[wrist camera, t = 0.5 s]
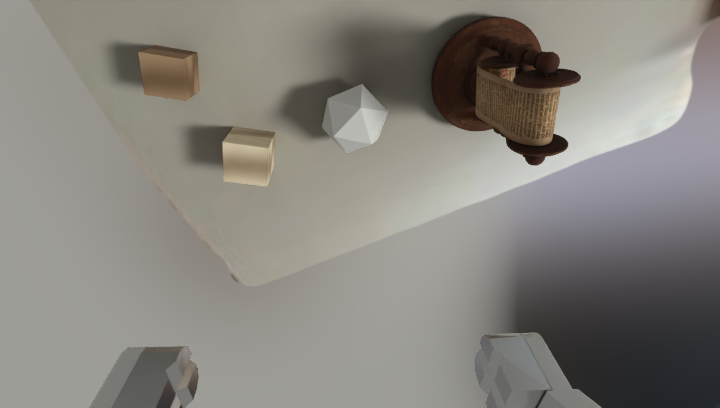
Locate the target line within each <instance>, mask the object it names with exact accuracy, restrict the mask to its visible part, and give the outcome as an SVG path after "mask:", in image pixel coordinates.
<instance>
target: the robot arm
mask: <svg viewBox="0 0 720 408" xmlns="http://www.w3.org/2000/svg"><path fill="white" fill-rule="evenodd" d="M480 344H481V347H482V349H481V350H479V351H478V352H477V354H476V358H475V371H476V376H477V379H478V382H479V385H480V387H481V388H482V389H483V390H484V391H485V392H486V393H487V394H488V397H487V401H486V405H487V408H601V407H600V406H599V405H597V404H596V403H595V402H594V401H592V400H591V399H590V398H588V397H587V396H586V395H585V394H583V393H582V392H581V391H579V390H578V389H572V388H571V386H570V384H569V383H568V381H567V379H566V377H565V376H564V374H563V373H562V371H561V369H560V367H559V366H558V364H557V362H556V360H555V359H554V357H553V356H552V354H551V352H550V350H549V349H548V347H547V345H546V343H545V342H544V340H543V338H542V337H541V336H540V335H539V334H538V333H521V334H518V333H510V334H491V335H484V336H483V337H482V338H481V341H480ZM190 357H191V351H190V349H189V347H188V346H178V347H133V348H127V349H126V350H125V351H124V352H122V353H121V355H120V356H119V358H118V360H117V361H116V363H115V365H114V367H113V368H112V370H111V372H110V373H109V375H108V377H107V378H106V380H105V382H104V383H103V385H102V387H101V388H100V390H99V392H98V394H97V395H96V397H95V399H94V400H93V402H92V404H91V405H90V407H89V408H185V407H186V406H187V405H188V404H189V403H190V402H191V401H192V400H193V399H194V396H195V393H196V390H197V384H198V368H197V366H196V364H195V363H194V362H192V361H191V360H189V359H190Z"/></svg>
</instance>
